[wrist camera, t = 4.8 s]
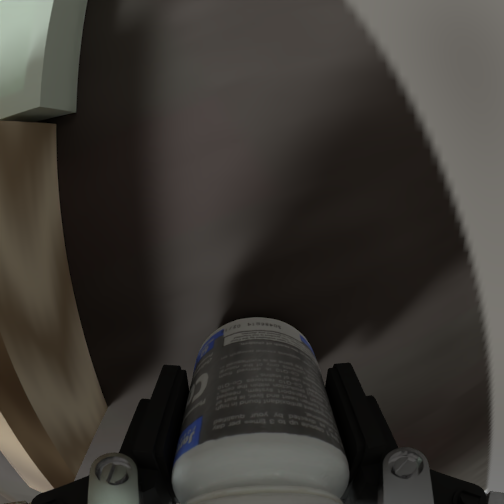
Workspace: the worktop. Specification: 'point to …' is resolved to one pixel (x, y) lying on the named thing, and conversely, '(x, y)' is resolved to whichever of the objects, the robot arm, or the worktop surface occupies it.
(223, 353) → the pill bottle
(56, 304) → the slot block
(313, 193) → the worktop surface
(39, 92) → the tray
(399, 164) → the worktop surface
